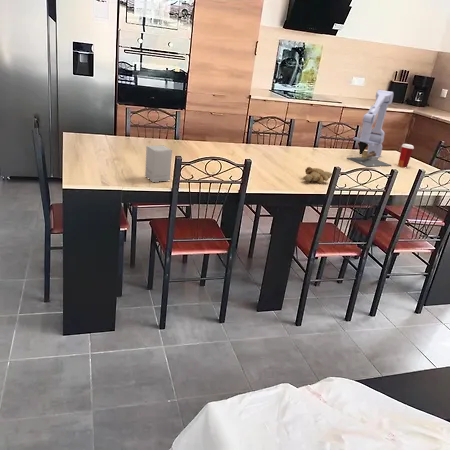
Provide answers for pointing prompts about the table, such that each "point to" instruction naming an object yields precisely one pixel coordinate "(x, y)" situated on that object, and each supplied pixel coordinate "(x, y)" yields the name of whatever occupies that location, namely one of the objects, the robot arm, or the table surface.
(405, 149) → the paper cup
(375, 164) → the plate
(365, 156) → the lever
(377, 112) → the robot arm
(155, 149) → the supplement box
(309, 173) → the ginger root
